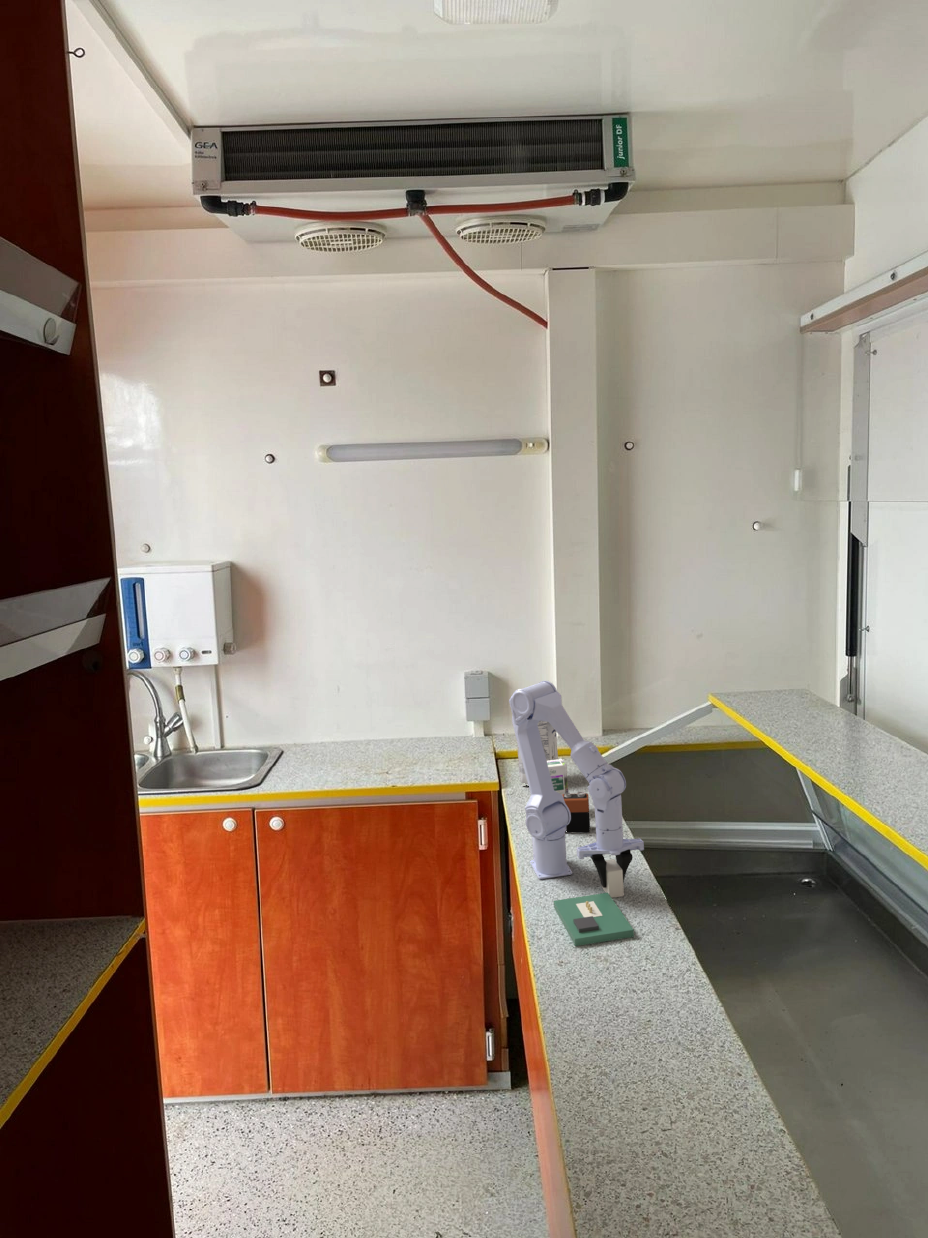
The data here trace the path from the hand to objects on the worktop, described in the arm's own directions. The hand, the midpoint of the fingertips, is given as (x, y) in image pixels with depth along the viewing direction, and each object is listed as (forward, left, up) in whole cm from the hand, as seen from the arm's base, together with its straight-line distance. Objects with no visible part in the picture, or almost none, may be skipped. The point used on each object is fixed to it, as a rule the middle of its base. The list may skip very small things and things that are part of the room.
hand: (612, 884), depth 191 cm
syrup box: (-46, 0, -2) cm, 46 cm away
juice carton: (-69, +1, -2) cm, 69 cm away
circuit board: (+11, -8, -2) cm, 14 cm away
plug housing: (0, 0, -2) cm, 2 cm away
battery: (-34, +2, -2) cm, 34 cm away
